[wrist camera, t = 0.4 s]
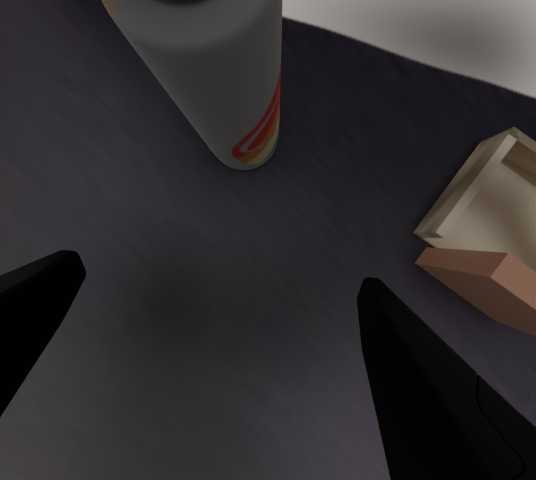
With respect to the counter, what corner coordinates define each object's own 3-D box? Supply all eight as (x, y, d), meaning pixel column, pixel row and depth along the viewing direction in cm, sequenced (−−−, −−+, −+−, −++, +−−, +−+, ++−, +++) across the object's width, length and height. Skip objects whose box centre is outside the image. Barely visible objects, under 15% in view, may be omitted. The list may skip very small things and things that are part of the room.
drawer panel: (494, 320, 23) (615, 366, 15) (414, 262, 23) (490, 277, 15) (506, 305, 23) (634, 342, 15) (426, 247, 23) (508, 252, 15)
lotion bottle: (292, 142, 23) (411, -532, 3) (239, 185, 23) (-9, -154, 3) (249, 88, 23) (62, -944, 3) (196, 132, 23) (-331, -552, 3)
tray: (526, 313, 22) (567, 326, 19) (412, 232, 23) (435, 232, 19) (594, 223, 22) (648, 221, 19) (480, 142, 22) (514, 126, 19)
